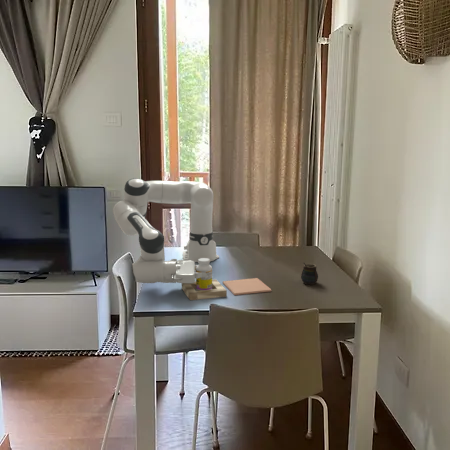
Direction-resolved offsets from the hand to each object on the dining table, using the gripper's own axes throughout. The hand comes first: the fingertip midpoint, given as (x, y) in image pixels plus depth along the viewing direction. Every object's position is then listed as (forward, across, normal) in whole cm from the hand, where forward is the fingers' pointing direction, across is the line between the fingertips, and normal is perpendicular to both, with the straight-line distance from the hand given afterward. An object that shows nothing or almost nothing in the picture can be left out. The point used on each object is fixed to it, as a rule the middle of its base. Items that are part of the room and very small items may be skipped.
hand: (206, 271), depth 191 cm
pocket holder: (-1, 0, +9) cm, 9 cm away
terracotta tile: (+17, +5, +9) cm, 20 cm away
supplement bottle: (-1, 0, +8) cm, 8 cm away
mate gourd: (+45, +9, +9) cm, 47 cm away
